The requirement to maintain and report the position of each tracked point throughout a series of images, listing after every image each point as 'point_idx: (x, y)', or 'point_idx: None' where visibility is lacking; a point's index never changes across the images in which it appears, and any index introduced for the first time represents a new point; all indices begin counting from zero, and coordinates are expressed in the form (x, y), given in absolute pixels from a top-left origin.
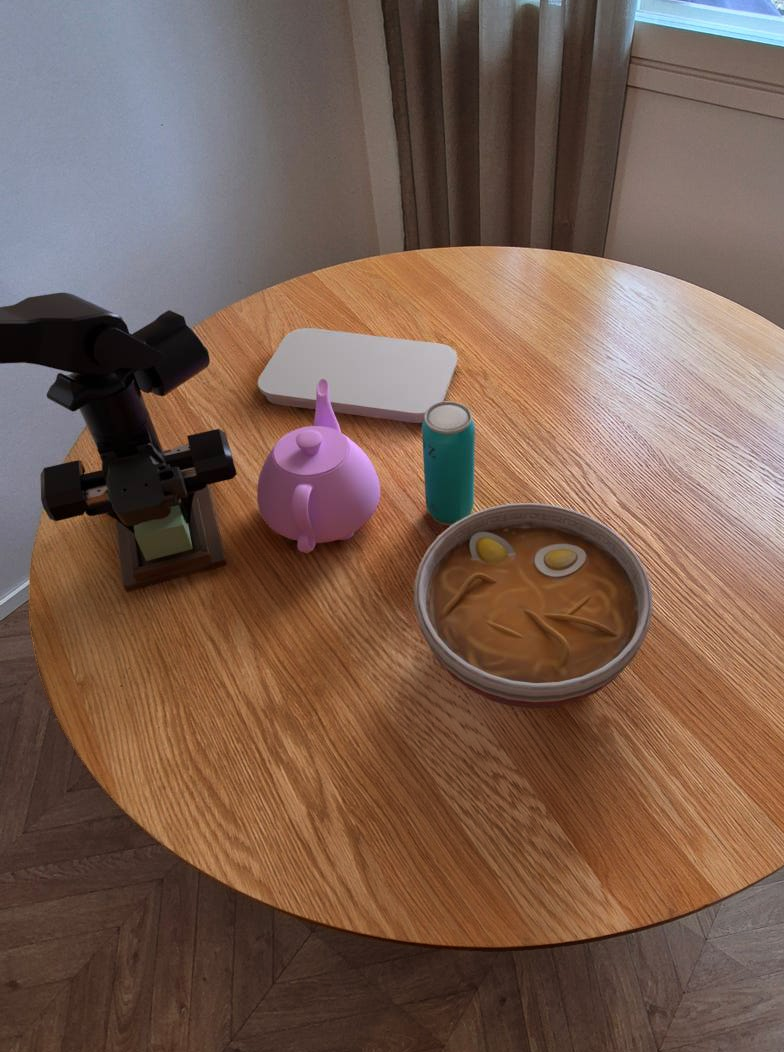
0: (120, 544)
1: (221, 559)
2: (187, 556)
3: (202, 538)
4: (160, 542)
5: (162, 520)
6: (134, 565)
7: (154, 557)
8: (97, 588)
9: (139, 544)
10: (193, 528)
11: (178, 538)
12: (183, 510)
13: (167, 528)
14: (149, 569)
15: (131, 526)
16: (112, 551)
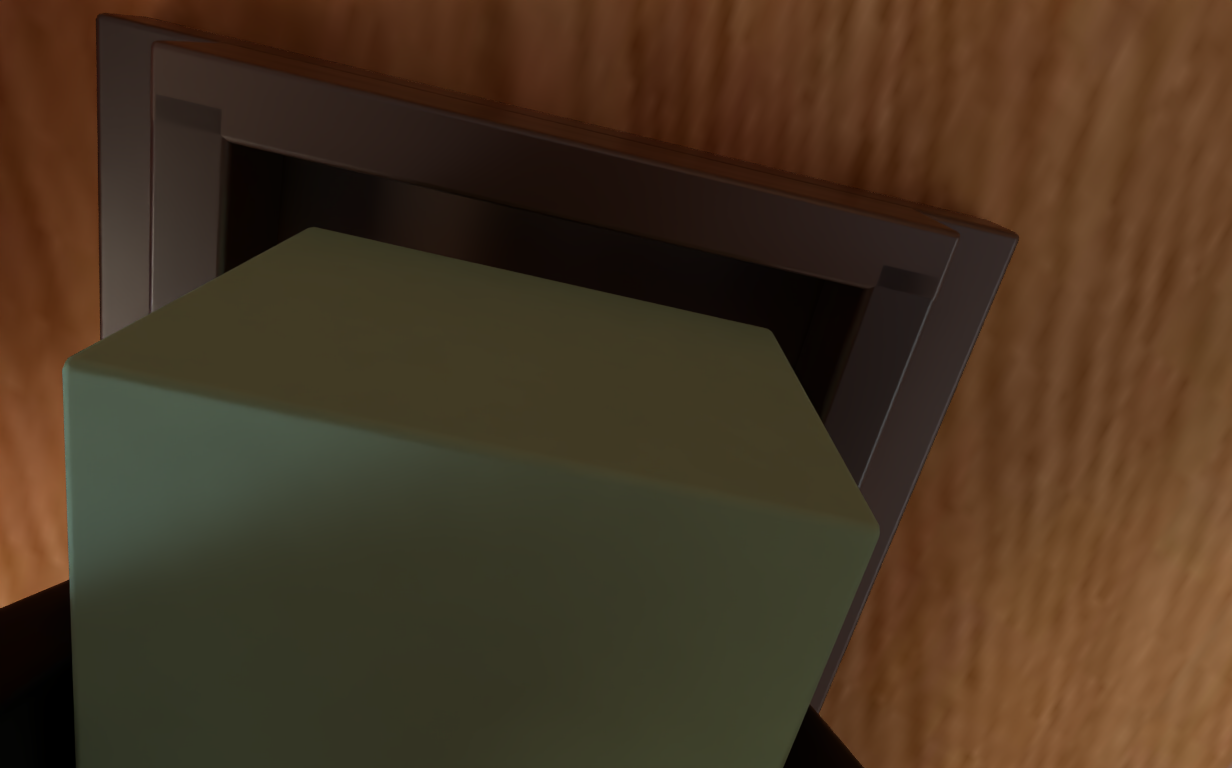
0: (833, 648)
1: (128, 31)
2: (385, 149)
3: None
4: (567, 360)
5: (379, 625)
6: (892, 335)
7: (691, 318)
8: (1129, 380)
9: (826, 438)
10: None
11: (334, 303)
12: (59, 656)
13: (348, 429)
14: (794, 200)
15: (793, 743)
16: (880, 632)
